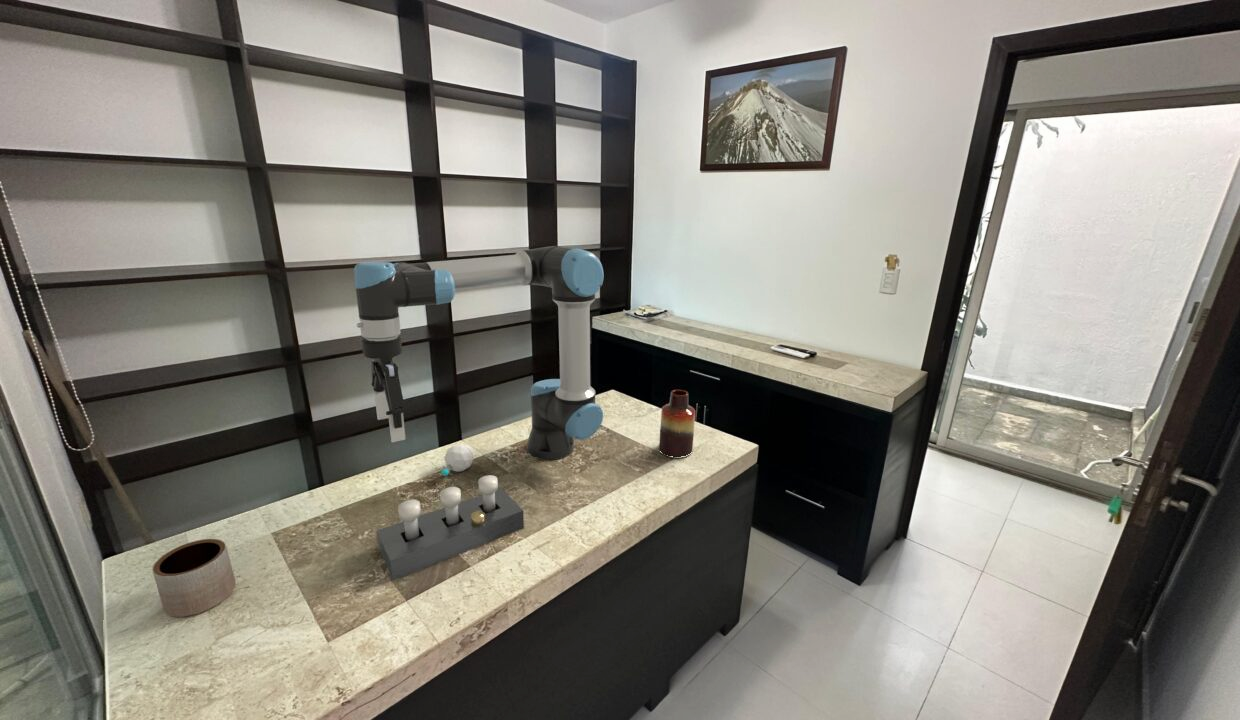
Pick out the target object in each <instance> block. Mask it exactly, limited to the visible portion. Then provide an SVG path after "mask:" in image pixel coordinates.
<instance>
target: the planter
mask: <svg viewBox="0 0 1240 720" xmlns="http://www.w3.org/2000/svg"><path fill="white" fill-rule="evenodd" d="M152 573H153V578H154V581H155V584H156V588H157V592H158V596H159V598H160V602H161V606H162V608H163V611H164V613H165V614H166V615H168V616H170V617H172V618H173V617H174V618H175V617H176V618H185V617H190V616H194V615H197V614H201V613H203V612H205V611H208V610H210V609H212V608H214V607H215V606H217V605H219V604H221V603H222V602H223V601H224V600H226V599H227V598H228V597H229V596H230V595H232V593H233V591H234V589H235V587H236V577H235V574H234V570H233V567H232V563H231V559H230V555H229V552H228V548H227V544H226V542H225V541H223V540H221V539H218V538H206V539H205V538H203V539H197V540H194V541H190V542H188V543H187V542H186V543H184V544H182V545H179V546H177V547H175V548H173V549H171V550H169V551H168V552H166V553H164V554H163V555H162V556H161V557H159V558H158V559H157V560H156V561H155V563H154V564H153V565H152Z"/></svg>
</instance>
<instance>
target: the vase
mask: <svg viewBox="0 0 1240 720" xmlns="http://www.w3.org/2000/svg"><path fill="white" fill-rule="evenodd" d="M695 420H696V410H695V408H694V407H693V406H691V405H689V392H688V391H686V390H682V389H673V390H671V392H670V397H669V403H666V404H665V405H663V406H662V407H661V413H660V427H659V428H660V429H659V444H658V449H659V452H660V451H661V452H662V453H663V454H665V455H668V456H673V457H681V456H686V455H688V454H690V453H691V452H693V445H694V434H695V433H694V432H695ZM661 452H660V453H661ZM662 453H661V454H662ZM663 454H662V455H663ZM665 455H664V456H665ZM668 456H667V457H668Z"/></svg>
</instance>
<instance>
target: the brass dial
mask: <svg viewBox="0 0 1240 720" xmlns="http://www.w3.org/2000/svg"><path fill="white" fill-rule="evenodd" d="M484 522H485V515H484V512H483V511H475V512H473V513H472V514H471V523H472V525H474V526H480V525H482V524H484Z"/></svg>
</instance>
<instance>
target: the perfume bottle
mask: <svg viewBox="0 0 1240 720" xmlns="http://www.w3.org/2000/svg"><path fill="white" fill-rule="evenodd" d="M473 460H474V453H473V450H472V449H471V448H470V447H469V446H467V445H466V444H463V443H458V444H456V443H455V444H454V445H451V447H449V448H448V449H447V450H446V452H445V455H444V462H445V466H444V465H442V467H443V468H442V469H441V475H442V476H443V477H447V476H448V475H452V476H453V474H452V473H451V470H452V471H453V472H464V471H465V470H466V469H468V468H470V467H471V466H472V463H473Z"/></svg>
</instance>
